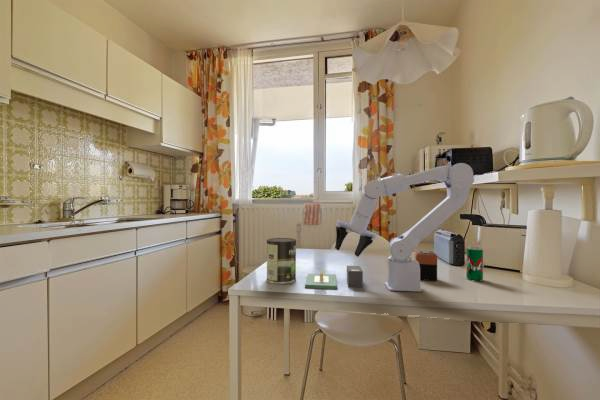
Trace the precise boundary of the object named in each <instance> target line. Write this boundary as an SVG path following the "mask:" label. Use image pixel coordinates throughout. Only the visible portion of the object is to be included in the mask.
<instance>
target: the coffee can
mask: <svg viewBox="0 0 600 400" xmlns="http://www.w3.org/2000/svg"><path fill="white" fill-rule="evenodd" d="M296 258H297V239H295V238H290V237H274V238H273V237H272V238H267V239H266V282H268V283H270V284H274V285H287V284H291V283H294V282H296V281H297V280H296V279H297V278H296V277H297V275H296V273H297V272H296V271H297V265H296V264H297V259H296Z"/></svg>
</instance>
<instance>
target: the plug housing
mask: <svg viewBox="0 0 600 400" xmlns="http://www.w3.org/2000/svg"><path fill="white" fill-rule="evenodd" d="M363 279H364V271H363V268H362V267H361V265H346V283H347V287H348V288H363V287H364V286H363V283H364V281H363Z"/></svg>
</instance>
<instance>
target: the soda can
mask: <svg viewBox="0 0 600 400" xmlns="http://www.w3.org/2000/svg"><path fill="white" fill-rule="evenodd" d="M465 277H466V279H467V280H469V279H470V280H469V281H471V280H476V281H475V282H481V281H480V280H482V281H483V280H484V248H483V246H481V245H475V244H470V245H469V244H468V245H467V247H466V276H465Z"/></svg>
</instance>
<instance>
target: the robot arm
mask: <svg viewBox="0 0 600 400" xmlns="http://www.w3.org/2000/svg"><path fill="white" fill-rule="evenodd" d="M474 175H475V174H474V170H473V168H472V167H471V165H469V164H467V163H464V162H459V163H456V164H454V165H452V164H447V165H441V166H436V167H432V168H429V169H426V170H422V171H419V172H415V173H412V174H409V175H403V174H402V173H397V172H393V173H392V175H390V176H385V177H382V178H381V177H377V178H376V179H377V180H376V179H371V180H370V181H368V182H366V183H365V185H364V187H363V190H364V191H363V193H362V194H361V198H360V199H359V200H358V203H357V205H356V208H355V210H354V212H353V214H352V216H351V218H350V221H349V222H345V221H343V220H339V219H337V220H336V222H335V226H336V227H335V231H336V238H335V239H336V240H335V246H334V248H335V250H337V251H339V250H340V249H341V248H342V245H343V242H344V240H345V238H346V237H347V235H348V234H349V232H352V233H355V234H358V235H359V239H358V244H357V245H356V248H355V251H354V255H355V256H356V257H357V258H358V257H359V256H360V255H361V254H362V253H363V251H364V250H365V249H366V248H367V247H369V246H370V245H372V244H373V242H374V241H375V240H376V238H377V234H376V233H374V232H372V231H370V230H367V229H368V225H369V223H370V221H371V218H372V216H373V214H374V212H375V210H376V206H377V202H378V201H379V198H380V197H381V196H382V195H383V196H389V195H393V194H398V193H401V192H405V191H406V189H407V188H408V186H411V185H412V186H413V185H417V184H420V183H425V182H429V181H437V182H440V183H442V182H444V185H445V186H446V187H445V188H446V197H445V198H444V199H443V200H442V201H441V202H439V203H438V204H437V205H436V206H435V207H434V208H432V209H431V210H430V211H429V212H428V213H427V214H425V215H424V216H423V217H422V218H420V220H419V221H418V222H416V223H415V224H414V225H413V226H412V227H410V229H409V230H407V231H405V232H404V233H402V234H400V235H399V236H396V237H393V238H391V240H390V241H389V243H388V250H389V254H390V255H389V256H388V257H387V281H384V285H385V286H386V287H387V289H388V290H389V291H396V292H398V291H399V292H401V291H402V292H422V290H421V280H420V265H419V262H418V261H416V260H415V259H412V257H411V256H412V254H413V251H414V250H415V249H416V248H417V247H418V246H419V244H420V242H422V241H423V240H424V239H425V238H426V237H427V236H428V235H430V234H431V233H432V232H433V231H434V230H436V229H437V228H438V227H439V226H440V225H442V224H443V223H444V222H445V221H446V220H447V219H448V218H450V217H451V216H452V215H453V214H454V213H456V212H457V211H458V210H459V209H461V207H463V206H464V205H465V204H466V203H467V201H468V198H469V195H470V191H471V187H472V186H473V183H474V182H475V178H474ZM348 231H349V232H348Z"/></svg>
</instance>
